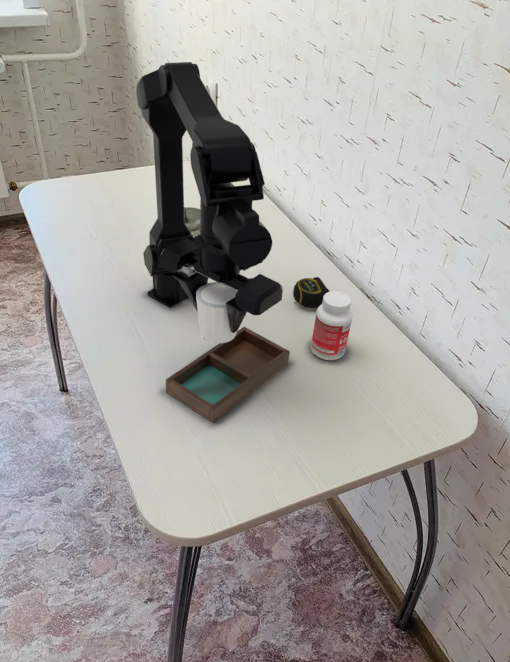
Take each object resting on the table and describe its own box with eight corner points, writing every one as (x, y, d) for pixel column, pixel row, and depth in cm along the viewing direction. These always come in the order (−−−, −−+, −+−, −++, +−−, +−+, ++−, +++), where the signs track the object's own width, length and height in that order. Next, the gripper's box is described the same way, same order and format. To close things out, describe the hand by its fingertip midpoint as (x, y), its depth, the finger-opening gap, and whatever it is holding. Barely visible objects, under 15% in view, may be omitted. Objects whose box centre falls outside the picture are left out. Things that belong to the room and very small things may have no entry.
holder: (165, 392, 99) (165, 379, 97) (243, 338, 111) (244, 326, 109) (213, 423, 95) (213, 410, 93) (288, 363, 106) (289, 351, 105)
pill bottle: (341, 365, 107) (352, 312, 100) (306, 356, 108) (315, 304, 101) (347, 344, 112) (358, 293, 104) (314, 336, 113) (323, 285, 105)
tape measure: (332, 309, 120) (335, 293, 117) (299, 314, 118) (302, 297, 115) (319, 290, 124) (321, 274, 122) (287, 294, 122) (289, 278, 120)
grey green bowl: (215, 232, 142) (218, 210, 140) (190, 238, 134) (193, 215, 132) (178, 220, 146) (181, 198, 144) (152, 225, 138) (154, 202, 136)
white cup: (224, 351, 92) (225, 313, 87) (186, 335, 94) (186, 296, 90) (248, 329, 96) (251, 291, 92) (212, 313, 99) (213, 276, 94)
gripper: (311, 233, 85) (298, 325, 95) (209, 189, 93) (207, 278, 103) (261, 263, 78) (253, 359, 88) (155, 213, 86) (160, 306, 96)
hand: (218, 322), depth 94 cm, fingers closed on white cup, 6 cm apart
